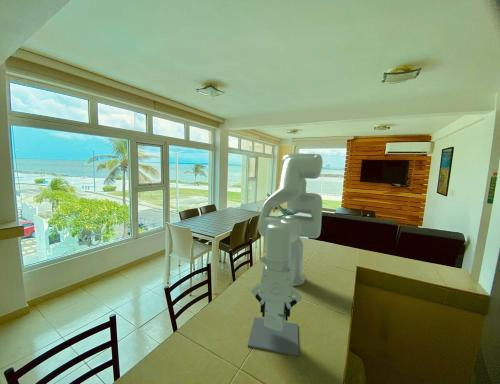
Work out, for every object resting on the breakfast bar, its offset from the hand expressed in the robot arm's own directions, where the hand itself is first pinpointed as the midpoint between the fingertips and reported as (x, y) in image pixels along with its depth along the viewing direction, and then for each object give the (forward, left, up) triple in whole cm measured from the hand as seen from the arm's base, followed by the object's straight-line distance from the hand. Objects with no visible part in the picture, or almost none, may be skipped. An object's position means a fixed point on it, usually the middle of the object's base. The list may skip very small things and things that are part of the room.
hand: (275, 315), depth 67 cm
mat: (0, 0, -7) cm, 7 cm away
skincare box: (0, 0, -3) cm, 3 cm away
